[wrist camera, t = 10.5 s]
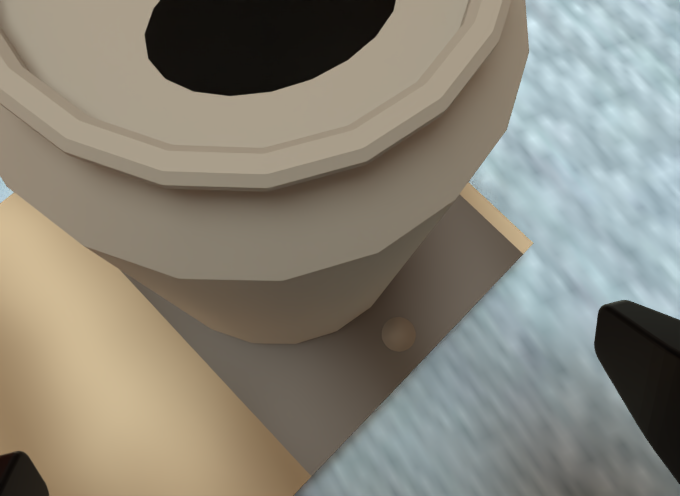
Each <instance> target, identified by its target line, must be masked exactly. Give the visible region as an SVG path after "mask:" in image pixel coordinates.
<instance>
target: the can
mask: <svg viewBox="0 0 680 496" xmlns="http://www.w3.org/2000/svg"><path fill="white" fill-rule="evenodd" d="M528 54H529V45H528V32H527V19H526V6H525V0H0V176H1V178H2V179H3V181H4V183H5V184H6V186H7V187H8V188H10V189H11V190H12V191H13V192H15V193H16V194H17V195H19V196H20V197H21V198H22V199H24V200H25V201H26V202H28V203H29V204H30V205H31V206H33V207H34V208H35V209H37V210H38V211H39V212H40V213H42V214H43V215H44V216H46V217H47V218H48V219H49V220H51V221H52V222H53V223H55V224H56V225H57V226H58V227H60V228H61V229H62V230H64V231H65V232H66V233H67V234H69V235H70V236H71V237H73V238H74V239H75V240H76V241H78V242H79V243H80V244H82V245H83V246H84V247H86V248H87V249H89V250H90V251H92V252H94V253H95V254H97V255H98V256H100V257H101V258H103V259H104V260H106V261H107V262H109V263H110V264H112V265H114V266H115V267H117V268H118V269H120V270H121V271H123V272H124V273H126V274H127V275H129V276H130V277H132V278H134V279H135V280H137V281H138V282H140V283H141V284H143V285H144V286H146V287H147V288H149V289H150V290H152V291H154V292H155V293H157V294H158V295H160V296H161V297H163V298H164V299H166V300H167V301H169V302H170V303H172V304H174V305H175V306H177V307H178V308H180V309H181V310H183V311H184V312H186V313H187V314H189V315H190V316H192V317H194V318H195V319H197V320H198V321H200V322H201V323H203V324H204V325H206V326H207V327H209V328H210V329H212V330H215V331H218V332H221V333H224V334H227V335H230V336H233V337H235V338H238V339H241V340H244V341H247V342H250V343H262V344H297V343H301V342H304V341H307V340H310V339H313V338H317V337H320V336H323V335H326V334H330V333H333V332H336V331H338V330H339V329H341V328H342V327H343V326H345V325H346V324H348V323H349V322H350V321H352V320H353V319H355V318H356V317H358V316H359V315H360V314H362V313H363V312H365V311H366V310H367V309H369V308H370V307H371V306H372V305H373V304H374V302H375V301H376V300H377V299H378V297H379V296H380V295H381V294H382V292H383V291H384V290H385V288H386V287H387V286H388V285H389V283H390V282H391V281H392V280H393V278H394V277H395V276H396V274H397V273H398V272H399V271H400V269H401V268H402V267H403V266H404V264H405V263H406V262H407V261H408V259H409V258H410V257H411V255H412V254H413V253H414V252H415V250H416V249H417V248H418V247H419V245H420V244H421V243H422V241H423V240H424V239H425V238H426V236H427V235H428V234H429V233H430V231H431V230H432V229H433V227H434V226H435V225H436V224H437V222H438V221H439V220H440V219H441V217H442V216H443V215H444V213H445V212H446V211H447V210H448V208H449V207H450V206H451V205H452V203H453V202H454V201H455V200H456V198H457V197H458V195H459V194H460V193H461V191H462V190H463V189H464V187H465V186H466V184H467V183H468V182H469V180H470V179H471V178H472V176H473V175H474V174H475V172H476V171H477V169H478V168H479V167H480V165H481V164H482V163H483V161H484V160H485V159H486V157H487V156H488V154H489V153H490V152H491V150H492V149H493V148H494V146H495V145H496V143H497V142H498V141H499V139H500V138H501V137H502V135H503V134H504V133H505V131H506V130H507V127H508V123H509V120H510V116H511V113H512V109H513V106H514V103H515V99H516V96H517V92H518V89H519V85H520V82H521V78H522V75H523V71H524V68H525V64H526V61H527V57H528Z"/></svg>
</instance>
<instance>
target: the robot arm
mask: <svg viewBox="0 0 680 496" xmlns="http://www.w3.org/2000/svg"><path fill="white" fill-rule="evenodd" d="M594 346H595V352H596V355H597V357H598V359H599V361H600V363H601V364H602V366H603V368H604V369H605V371H606V373H607V374H608V376H609V378H610V379H611V381H612V383H613V385H614V386H615V388H616V390H617V391H618V393H619V395H620V396H621V398H622V400H623V401H624V403H625V405H626V406H627V408H628V410H629V412H630V413H631V415H632V417H633V418H634V420H635V422H636V423H637V425H638V427H639V428H640V430H641V431H642V433H643V434H644V436H645V438H646V439H647V441H648V442H649V443H650V445H651V446H652V448H653V449H654V450H655V452H656V453H657V455H658V456H659V457H660V459H661V460H662V461H663V463H664V464H665V465H666V467H667V468H668V469H669V471H670V472H671V473H672V475H673V476H674V477H675V479H676V480H677V482H678V483H679V484H680V320H679V319H676V318H673V317H671V316H668V315H665V314H663V313H660V312H658V311H655V310H652V309H650V308H647V307H645V306H642V305H639V304H637V303H634V302H631V301H628V300H621V301H617V302H613V303H609V304H605V305H603V306H601V308H600V309H599V312H598V318H597V326H596V333H595V341H594ZM0 496H49V491H48V487H47V485H46V483H45V481H44V480H43V478H42V476H41V475H40V473H39V472H38V470H37V468H36V467H35V465H34V464H33V462H32V460H31V459H30V457H29V456H28V455H27V453H25V452H23V451H14V452H10V453H6V454H2V455H0Z"/></svg>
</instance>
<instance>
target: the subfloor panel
mask: <svg viewBox="0 0 680 496" xmlns="http://www.w3.org/2000/svg"><path fill="white" fill-rule="evenodd" d="M532 244H533V242H532V241H531V240H529V239H528V238H527V237H526V236H525V235H524V234H523V233H522V232H521V231H520V230H519V229H518V228H517V227H516V226H514V225H513V224H512V223H511V222H510V221H509V220H508V219H507V218H506V217H505V216H504V215H503V214H502V213H501V212H500V211H498V210H497V209H496V208H495V207H494V206H493V205H492V204H491V203H490V202H489V201H488V200H487V199H486V198H485V197H484V196H482V195H481V194H480V193H479V192H478V191H477V190H476V189H475V188H474V187H473V186H472V185H471V184H470V183H469V182H468V183H467V184H466V186H465V187H464V189H463V190H462V191H461V193H460V194H459V195H458V197H457V198H456V200H455V201H454V202H453V203H452V205H451V206H450V207H449V208H448V210H447V211H446V212H445V213H444V215H443V216H442V217H441V219H440V220H439V221H438V222H437V224H436V225H435V226H434V227H433V229H432V230H431V231H430V233H429V234H428V235H427V236H426V238H425V239H424V240H423V241H422V243H421V244H420V245H419V247H418V248H417V249H416V250H415V252H414V253H413V254H412V255H411V257H410V258H409V259H408V261H407V262H406V263H405V264H404V266H403V267H402V268H401V269H400V271H399V272H398V273H397V274H396V276H395V277H394V278H393V280H392V281H391V282H390V283H389V285H388V286H387V287H386V288H385V290H384V291H383V292H382V294H381V295H380V296H379V297H378V299H377V300H376V301H375V302H374V304H373V305H372V306H371V307H370V308H369V309H367V310H366V311H365V312H363V313H362V314H360V315H359V316H358V317H356V318H355V319H353V320H352V321H350V322H349V323H348V324H346V325H345V326H343V327H342V328H341V329H339V330H338V331H336V332H333V333H330V334H326V335H323V336H320V337H317V338H313V339H310V340H307V341H304V342H301V343H297V344H262V343H250V342H247V341H244V340H241V339H238V338H235V337H233V336H230V335H227V334H224V333H221V332H218V331H215V330H212V329H210V328H209V327H207V326H206V325H204V324H203V323H201V322H200V321H198V320H197V319H195V318H194V317H192V316H190V315H189V314H187V313H186V312H184V311H183V310H181V309H180V308H178V307H177V306H175V305H174V304H172V303H170V302H169V301H167V300H166V299H164V298H163V297H161V296H160V295H158V294H157V293H155V292H154V291H152V290H150V289H149V288H147V287H146V286H144V285H143V284H141V283H140V282H138V281H137V280H135V279H134V278H132V277H130V276H129V275H127V274H126V273H124V272H123V271H121V270H120V269H118V268H117V267H115V266H114V265H112V264H110V263H109V262H107V261H106V260H104V259H103V258H101V257H100V256H98V255H97V254H95V253H94V252H92V251H90V250H89V249H87V248H86V247H84V246H83V245H82V244H80V243H79V242H78V241H76V240H75V239H74V238H73V237H71V236H70V235H69V234H67V233H66V232H65V231H64V230H62V229H61V228H60V227H58V226H57V225H56V224H55V223H53V222H52V221H51V220H49V219H48V218H47V217H46V216H44V215H43V214H42V213H40V212H39V211H38V210H37V209H35V208H34V207H33V206H31V205H30V204H29V203H28V202H26V201H25V200H24V199H22V198H21V197H20V196H19V195H17V194H16V193H15V192H14V193H13V194H12V195H10V196H9V197H8V198H7V199H5V200H4V201H3V202H2V203H0V455H2V454H6V453H10V452H14V451H23V452H25V453H27V455H28V456H29V457H30V459H31V460H32V462H33V464H34V465H35V467H36V468H37V470H38V472H39V473H40V475H41V476H42V478H43V480H44V481H45V483H46V485H47V487H48V491H49V496H293V495H294V494H295V493H296V492H297V491H298V490H299V489H300V488H301V487H302V486H303V485H304V484H305V483H306V482H307V481H308V480H309V479H310V477H311V476H312V475H313V474H314V473H315V472H316V471H317V470H318V469H319V468H320V467H321V466H322V465H323V464H324V463H325V462H326V461H327V460H328V459H329V458H330V457H331V456H332V454H333V453H334V452H335V451H336V450H337V449H338V448H339V447H340V446H341V445H342V444H343V443H344V442H345V441H346V440H347V439H348V438H349V437H350V436H351V435H352V433H353V432H354V431H355V430H356V429H357V428H358V427H359V426H360V425H361V424H362V423H363V422H364V421H365V420H366V419H367V418H368V417H369V416H370V415H371V413H372V412H373V411H374V410H375V409H376V408H377V407H378V406H379V405H380V404H381V403H382V402H383V401H384V400H385V399H386V398H387V397H388V396H389V395H390V394H391V392H392V391H393V390H394V389H395V388H396V387H397V386H398V385H399V384H400V383H401V382H402V381H403V380H404V379H405V378H406V377H407V376H408V375H409V374H410V373H411V371H412V370H413V369H414V368H415V367H416V366H417V365H418V364H419V363H420V362H421V361H422V360H423V359H424V358H425V357H426V356H427V355H428V354H429V353H430V351H431V350H432V349H433V348H434V347H435V346H436V345H437V344H438V343H439V342H440V341H441V340H442V339H443V338H444V337H445V336H446V335H447V334H448V333H449V332H450V330H451V329H452V328H453V327H454V326H455V325H456V324H457V323H458V322H459V321H460V320H461V319H462V318H463V317H464V316H465V315H466V314H467V313H468V312H469V311H470V309H471V308H472V307H473V306H474V305H475V304H476V303H477V302H478V301H479V300H480V299H481V298H482V297H483V296H484V295H485V294H486V293H487V292H488V291H489V289H490V288H491V287H492V286H493V285H494V284H495V283H496V282H497V281H498V280H499V279H500V278H501V277H502V276H503V275H504V274H505V273H506V272H507V271H508V270H509V268H510V267H511V266H512V265H513V264H514V263H515V262H516V261H517V260H518V259H519V258H520V257H521V256H522V255H523V254H524V253H525V252H526V251H527V249H528V248H529V247H530V246H531V245H532Z"/></svg>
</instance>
